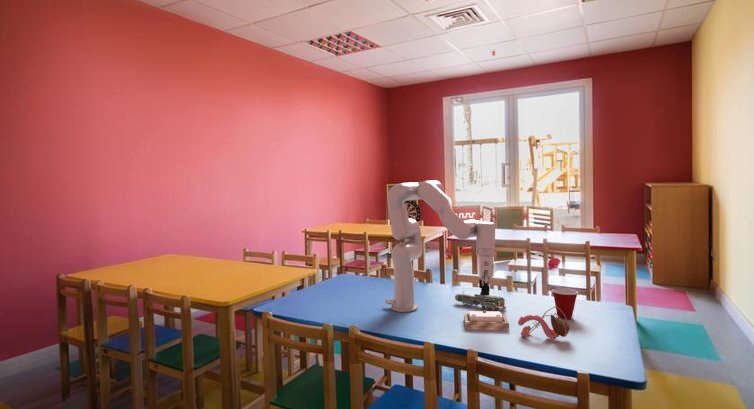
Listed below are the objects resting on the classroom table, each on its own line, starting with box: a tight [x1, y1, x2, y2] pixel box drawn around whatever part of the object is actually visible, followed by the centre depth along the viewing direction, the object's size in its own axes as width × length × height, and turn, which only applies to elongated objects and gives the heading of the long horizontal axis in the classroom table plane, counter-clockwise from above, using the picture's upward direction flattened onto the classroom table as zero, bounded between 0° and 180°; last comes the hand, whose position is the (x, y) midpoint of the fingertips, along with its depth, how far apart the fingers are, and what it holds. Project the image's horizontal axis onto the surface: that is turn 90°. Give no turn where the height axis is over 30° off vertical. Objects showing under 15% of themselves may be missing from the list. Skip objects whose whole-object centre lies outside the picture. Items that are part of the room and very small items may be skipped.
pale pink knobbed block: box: [468, 309, 503, 322], centre depth 180 cm, size 13×6×4 cm, turn 84°
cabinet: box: [463, 312, 510, 331], centre depth 180 cm, size 17×11×3 cm, turn 81°
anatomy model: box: [517, 305, 571, 344], centre depth 165 cm, size 11×15×17 cm
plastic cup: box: [551, 288, 579, 320], centre depth 187 cm, size 11×11×12 cm
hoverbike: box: [454, 290, 507, 312], centre depth 203 cm, size 10×25×8 cm, turn 58°
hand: (484, 291), depth 179 cm, fingers open, 9 cm apart
